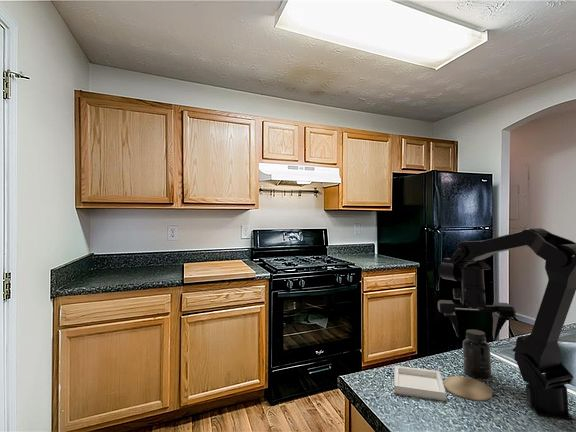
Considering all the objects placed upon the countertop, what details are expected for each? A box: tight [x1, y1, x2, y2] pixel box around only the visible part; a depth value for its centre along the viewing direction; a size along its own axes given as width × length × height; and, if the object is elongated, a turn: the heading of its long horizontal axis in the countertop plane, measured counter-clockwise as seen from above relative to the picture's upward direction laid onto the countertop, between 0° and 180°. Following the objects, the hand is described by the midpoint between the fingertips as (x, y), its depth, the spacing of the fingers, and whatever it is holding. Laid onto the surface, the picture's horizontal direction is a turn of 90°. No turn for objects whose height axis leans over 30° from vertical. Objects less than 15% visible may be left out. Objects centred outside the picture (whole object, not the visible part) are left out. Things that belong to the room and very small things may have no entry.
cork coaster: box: [443, 375, 493, 401], centre depth 80 cm, size 11×11×1 cm
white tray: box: [393, 365, 447, 402], centre depth 82 cm, size 12×12×2 cm
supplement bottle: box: [462, 329, 492, 380], centre depth 88 cm, size 7×7×12 cm
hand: (475, 338), depth 88 cm, fingers open, 9 cm apart
